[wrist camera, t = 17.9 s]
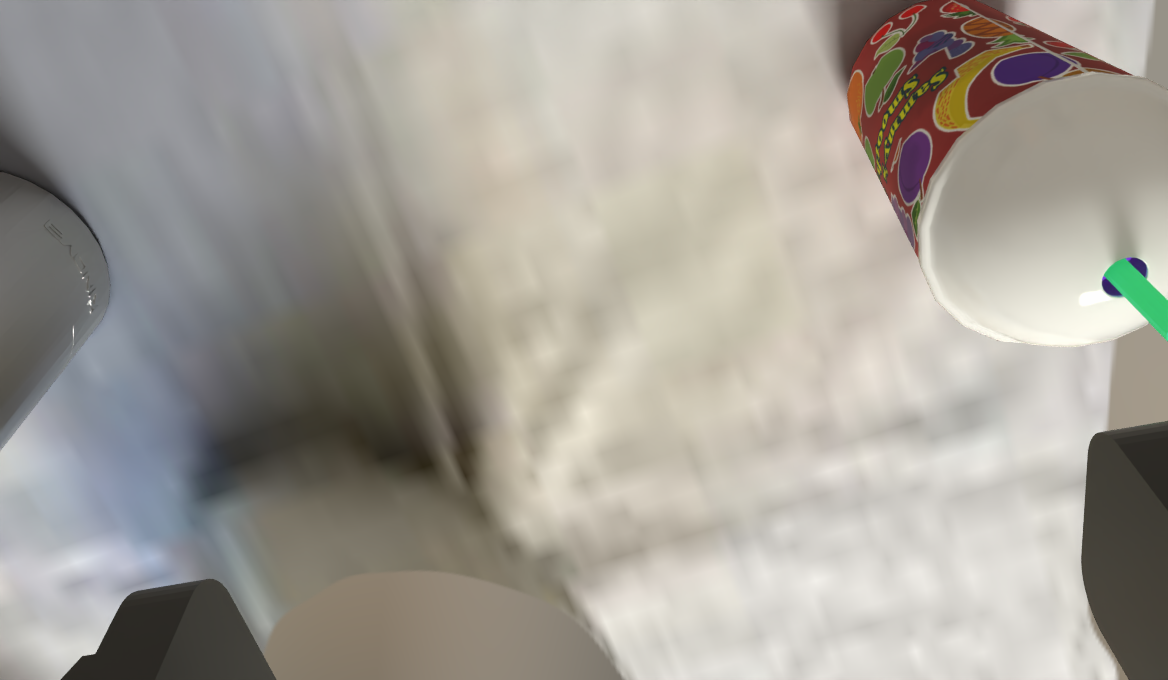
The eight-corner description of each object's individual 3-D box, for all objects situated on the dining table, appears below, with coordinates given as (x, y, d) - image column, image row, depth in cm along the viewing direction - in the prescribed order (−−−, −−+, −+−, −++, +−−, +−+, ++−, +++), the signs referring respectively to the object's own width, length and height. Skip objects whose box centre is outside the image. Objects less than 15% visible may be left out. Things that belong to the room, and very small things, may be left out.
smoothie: (809, -5, 39) (995, 209, 22) (1031, -56, 38) (1405, 125, 21) (830, 191, 43) (999, 500, 26) (1030, 150, 42) (1340, 440, 25)
